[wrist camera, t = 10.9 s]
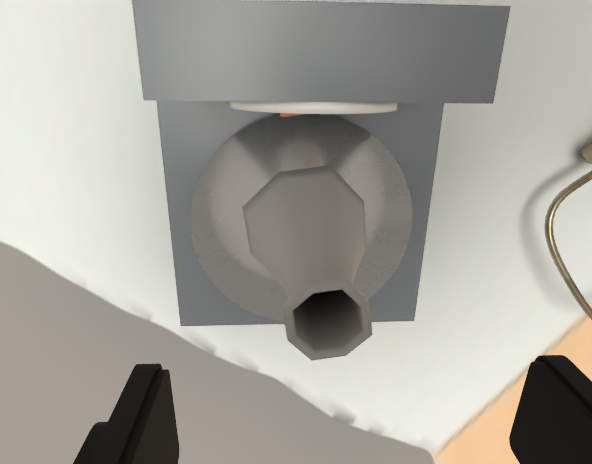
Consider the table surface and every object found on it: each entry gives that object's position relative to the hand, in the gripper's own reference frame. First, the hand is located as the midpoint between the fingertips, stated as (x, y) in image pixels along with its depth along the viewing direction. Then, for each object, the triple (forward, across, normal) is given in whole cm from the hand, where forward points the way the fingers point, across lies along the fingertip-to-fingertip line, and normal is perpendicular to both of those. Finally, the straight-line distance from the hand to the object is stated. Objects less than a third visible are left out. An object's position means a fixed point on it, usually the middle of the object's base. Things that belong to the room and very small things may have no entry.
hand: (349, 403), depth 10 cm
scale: (+20, 0, -1) cm, 20 cm away
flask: (+14, 0, 0) cm, 14 cm away
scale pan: (+15, 0, +1) cm, 15 cm away
